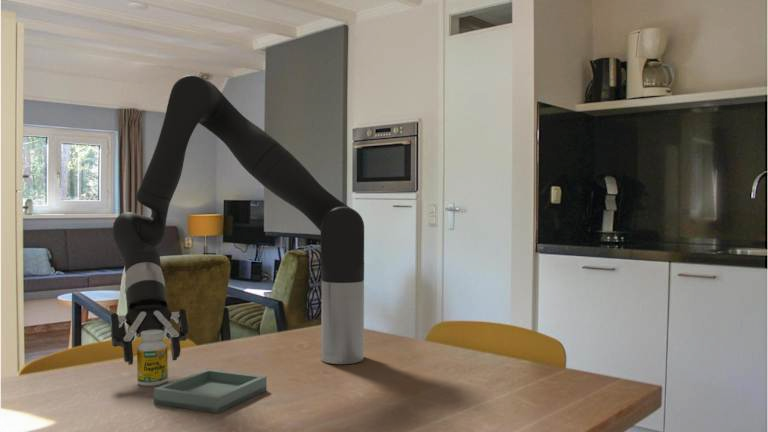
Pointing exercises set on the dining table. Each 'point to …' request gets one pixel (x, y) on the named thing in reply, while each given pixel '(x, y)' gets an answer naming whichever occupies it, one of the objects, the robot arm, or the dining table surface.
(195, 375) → the tray
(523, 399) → the dining table surface
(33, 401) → the dining table surface
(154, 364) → the supplement bottle
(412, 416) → the dining table surface
